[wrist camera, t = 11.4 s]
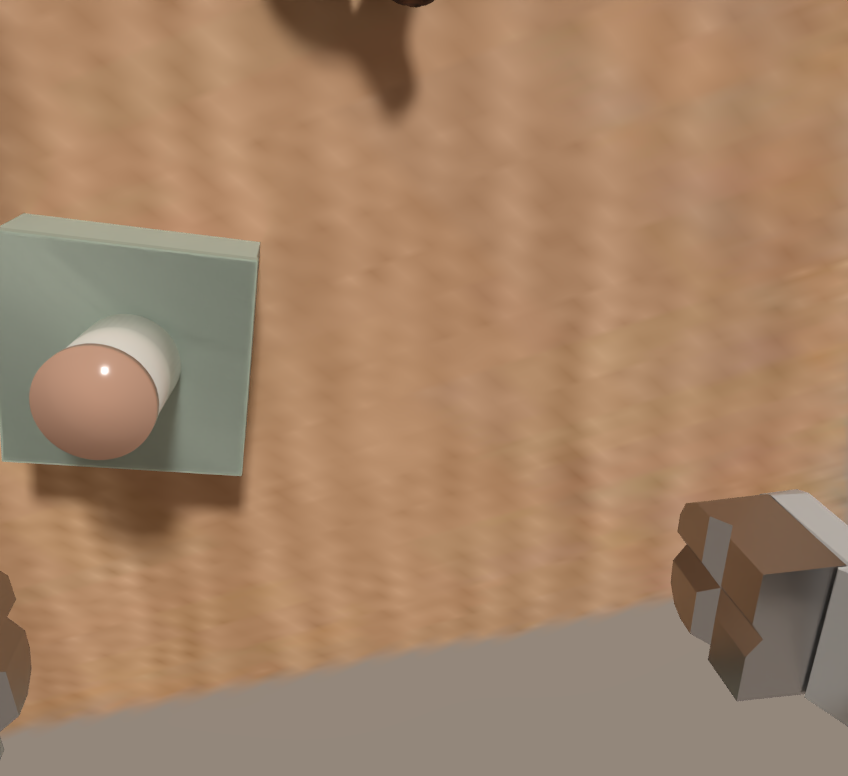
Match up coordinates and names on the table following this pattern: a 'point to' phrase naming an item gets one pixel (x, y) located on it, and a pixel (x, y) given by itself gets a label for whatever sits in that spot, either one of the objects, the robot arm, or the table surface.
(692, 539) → the robot arm
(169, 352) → the pink capped tube
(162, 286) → the sage box
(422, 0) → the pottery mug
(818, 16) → the table surface
